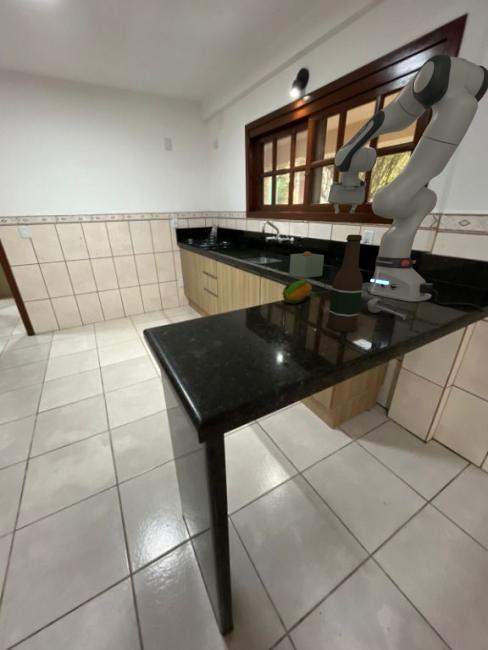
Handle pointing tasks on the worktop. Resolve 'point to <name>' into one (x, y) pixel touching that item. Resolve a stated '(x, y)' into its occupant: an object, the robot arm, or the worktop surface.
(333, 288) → the beer bottle
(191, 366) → the worktop surface
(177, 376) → the worktop surface
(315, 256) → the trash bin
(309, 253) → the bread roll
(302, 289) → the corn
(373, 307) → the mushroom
